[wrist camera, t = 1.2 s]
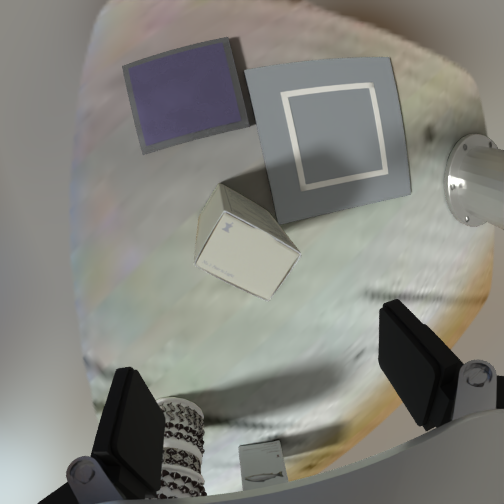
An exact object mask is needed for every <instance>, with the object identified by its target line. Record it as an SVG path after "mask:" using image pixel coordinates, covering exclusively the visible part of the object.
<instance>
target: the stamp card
mask: <svg viewBox="0 0 504 504" xmlns="http://www.w3.org/2000/svg"><path fill="white" fill-rule="evenodd" d="M244 74H245V78H246V83H247V87H248V91H249V95H250V99H251V104H252V108H253V112H254V117H255V121H256V125H257V130H258V134H259V139H260V143H261V147H262V152H263V157H264V161H265V166H266V170H267V175H268V180H269V184H270V189H271V194H272V198H273V203H274V208H275V213H276V218H277V223H278V224H279V225H281V224H285V223H289V222H293V221H298V220H302V219H306V218H310V217H315V216H319V215H323V214H327V213H332V212H336V211H340V210H345V209H349V208H353V207H358V206H362V205H367V204H371V203H376V202H380V201H384V200H389V199H393V198H398V197H403V196H407V195H411V190H410V178H409V168H408V159H407V150H406V143H405V136H404V129H403V122H402V116H401V110H400V105H399V100H398V94H397V89H396V85H395V80H394V75H393V71H392V67H391V63H390V59H389V57H358V58H337V59H323V60H312V61H303V62H294V63H286V64H279V65H272V66H265V67H259V68H254V69H248V70H244Z"/></svg>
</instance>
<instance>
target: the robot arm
mask: <svg viewBox="0 0 504 504" xmlns="http://www.w3.org/2000/svg"><path fill="white" fill-rule="evenodd" d="M444 189H445V196H446V200H447V204H448V207H449V209H450V211H451V213H452V214H453V216H454V217H455V218H456V219H457V220H458V221H459V222H461V223H463V224H465V225H467V226H471V227H477V226H480V225H483V224H484V223H486V222H488V223H490V224H492V225H494V226H497V227H499V228H501V229H503V230H504V150H500V149H498V147H497V146H496V144H495V143H494V142H493V141H492V140H491V139H490V138H488V137H487V136H484V135H480V134H469V135H467V136H464V137H463V138H462V139H460V140H459V141H458V142H457V144H456V145H455V146H454V148H453V150H452V151H451V153H450V156H449V158H448V161H447V165H446V169H445V178H444ZM378 361H379V365H380V367H381V369H382V371H383V372H384V374H385V375H386V377H387V378H388V380H389V381H390V383H391V384H392V386H393V387H394V389H395V390H396V392H397V394H398V395H399V397H400V398H401V400H402V401H403V403H404V404H405V406H406V407H407V409H408V411H409V412H410V414H411V415H412V417H413V419H414V420H415V422H416V423H417V425H418V426H423V427H424V429H425V430H426V431H428V430H430V429H432V428H434V427H436V428H435V429H433V430H431V431H429V432H427V433H425V434H423V435H421V436H419V437H416V438H414V439H412V440H410V441H408V442H406V443H403V444H401V445H398V446H396V447H394V448H391V449H389V450H387V451H384V452H382V453H379V454H377V455H374V456H372V457H369V458H366V459H363V460H361V461H358V462H355V463H352V464H349V465H347V466H343V467H340V468H337V469H334V470H331V471H328V472H324V473H321V474H317V475H314V476H310V477H306V478H303V479H299V480H295V481H291V482H286V483H282V484H278V485H273V486H268V487H263V488H258V489H252V490H246V491H240V492H233V493H226V494H219V495H210V496H200V497H188V498H172V499H145V498H156V495H157V491H159V490H160V487H161V472H162V458H163V445H164V434H165V423H166V419H165V415H164V413H163V411H162V410H161V408H160V407H159V405H158V403H157V402H156V400H155V399H154V397H153V395H152V394H151V392H150V390H149V389H148V387H147V385H146V384H145V382H144V380H143V379H142V377H141V375H140V374H139V372H138V371H137V370H134V369H133V368H132V367H125V368H118V369H117V370H116V372H115V375H114V378H113V381H112V384H111V387H110V391H109V394H108V397H107V401H106V404H105V406H104V409H103V412H102V416H101V419H100V423H99V426H98V430H97V434H96V437H95V441H94V445H93V449H92V453H91V457H89V456H82V457H79V458H77V459H75V460H74V461H72V463H71V464H70V465H69V466H68V469H67V471H66V477H67V481H68V482H67V483H65V484H64V485H62V486H61V487H60V488H58V489H57V490H56V491H54V492H53V493H51V494H50V495H48V496H47V497H46V498H44V499H43V500H41V501H40V502H39V503H38V504H504V376H497V375H496V370H495V369H494V367H493V366H492V365H491V364H490V363H488V362H486V361H483V360H471V361H469V362H467V363H465V364H463V363H462V362H461V361H460V359H459V358H458V357H457V356H456V355H455V354H454V353H453V352H452V351H451V350H450V349H449V348H448V347H447V346H446V345H445V343H444V342H443V341H442V340H441V339H440V338H439V337H438V336H437V335H436V334H435V333H434V332H433V331H432V330H431V329H430V328H429V327H428V326H427V325H425V324H423V323H422V322H421V321H420V320H419V319H418V318H417V317H416V316H415V315H414V314H413V313H412V312H411V311H410V310H409V309H408V308H407V307H406V306H405V305H404V304H403V303H402V302H401V301H400V300H398V299H395V300H392V301H389V302H386V303H384V304H383V308H381V309H380V310H379V355H378Z"/></svg>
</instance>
